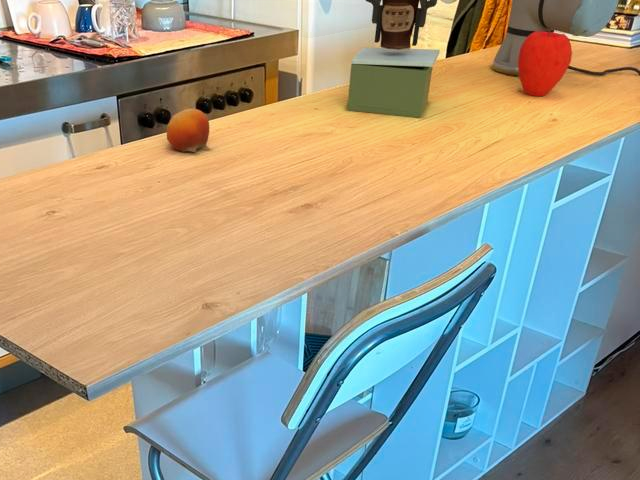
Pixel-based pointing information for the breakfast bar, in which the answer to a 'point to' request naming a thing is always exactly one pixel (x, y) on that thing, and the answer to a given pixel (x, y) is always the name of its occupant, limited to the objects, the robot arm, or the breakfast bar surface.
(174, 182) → the breakfast bar surface
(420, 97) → the green storage bin
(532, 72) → the apple
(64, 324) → the breakfast bar surface
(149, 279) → the breakfast bar surface
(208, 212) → the breakfast bar surface
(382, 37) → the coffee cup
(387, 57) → the pale blue box lid
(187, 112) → the fruit
